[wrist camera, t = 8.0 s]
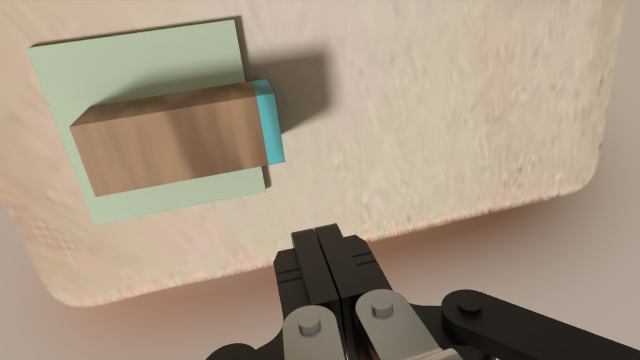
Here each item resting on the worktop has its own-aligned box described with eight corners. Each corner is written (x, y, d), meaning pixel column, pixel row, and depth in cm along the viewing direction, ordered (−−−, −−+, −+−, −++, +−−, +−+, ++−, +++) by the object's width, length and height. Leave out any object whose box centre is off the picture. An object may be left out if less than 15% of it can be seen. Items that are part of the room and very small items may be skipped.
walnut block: (274, 93, 29) (69, 126, 28) (285, 161, 32) (95, 197, 30) (266, 78, 34) (89, 106, 32) (276, 139, 36) (111, 169, 34)
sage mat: (233, 19, 32) (233, 19, 32) (265, 189, 38) (265, 192, 38) (29, 47, 30) (26, 48, 30) (96, 221, 36) (95, 225, 36)
